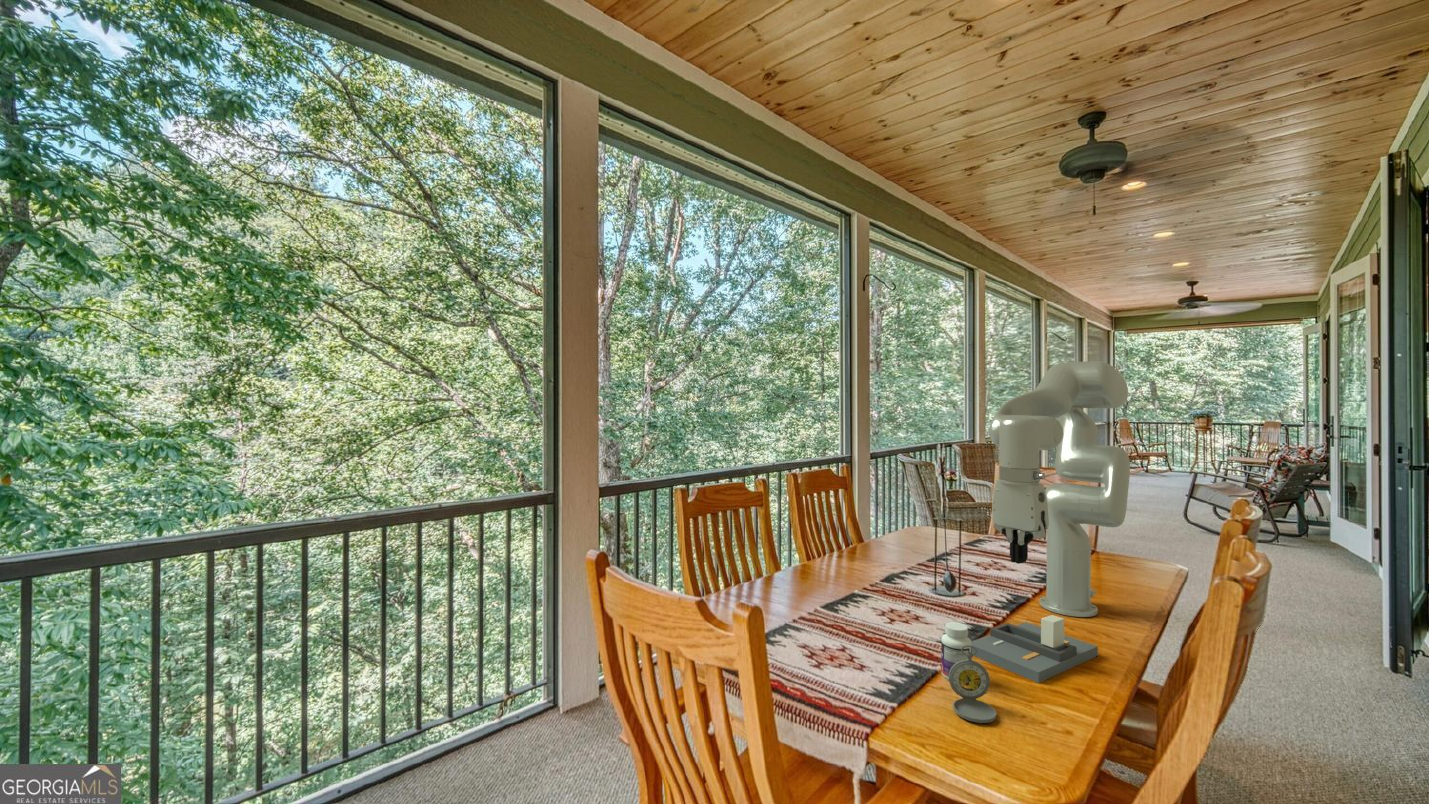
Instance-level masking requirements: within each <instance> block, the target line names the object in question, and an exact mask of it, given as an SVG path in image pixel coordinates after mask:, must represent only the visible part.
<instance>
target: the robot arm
mask: <svg viewBox="0 0 1429 804" xmlns="http://www.w3.org/2000/svg"><path fill="white" fill-rule="evenodd" d="M1128 394H1129V390H1128V385H1127V382H1126V379H1125V378H1124V377H1123V375H1122V374H1121V373H1120V372H1119V371H1118V370H1117V369H1116V368H1115V367H1114V366H1113V365H1111V364H1109V363H1108V362H1105V361H1100V360H1097V361H1096V360H1095V361H1090V360H1089V361H1070V362H1069V361H1067V362H1059V363H1056V364H1054V365H1052V366H1050V368H1049V369H1048V370H1047V371H1046V372H1045V374H1044V376H1043V377H1042V379H1041V380H1040V382H1039V384H1038V385H1036V387H1035V389H1033V390H1030V391H1027V392H1025V393H1023V394H1021V395H1018V396H1016V397H1014V398H1011V399H1009V400H1008V401H1006V402H1005V403H1003V404H1002V405H1001V406H1000V407H999V409H998V410H997V412H995V415H994V416H993V418H992V419H991V422H990V424H989V429H988V431H989V432H988V433H989V438H990V440H991V442H992V444H994V445H995V446H996V447H999V448H998V455H999V459H998V466H999V467H998V479H997V480H996V482H995V486H994V490H993V498H992V505H991V506H992V508H991V509H992V510H991V514H992V515H991V516H992V522H993V529H994V530H995V531H998V532H1000V533H1002V534H1003V535H1004V537H1005V538H1006V541H1007V542H1008V543H1009V556H1010V562H1011V563H1015V564H1023V563H1026V562H1027V560H1028V556H1029V555H1028V554H1029V547H1028V545H1029V544H1031V542H1032V541H1034V540H1042V539H1046V584H1045V585H1046V587H1045V589H1046V590H1045V591H1046V595H1045V596H1042V597H1040V598H1039V606H1041V607H1042V608H1043V609H1045V610H1046V611H1050V612H1052V613H1056V614H1060V615H1063V616H1067V617H1074V618H1075V617H1076V618H1077V617H1078V618H1091V617H1094V616H1097V615H1098V613H1099V610H1098V607H1097V606H1096V605H1094V604H1093V603H1091V597H1094V596H1096V594H1097V593H1096V592H1097V591H1096V590H1095V589H1093V588H1091V579H1092V578H1091V569H1092V568H1091V567H1092V565H1091V563H1092V562H1091V561H1092V555H1091V554H1092V551H1091V550H1092V548H1091V547H1092V545H1091V540H1090V537H1089V535H1088V534H1087V532H1086V530H1085V529H1084V528H1083V527H1082V525H1091V526H1097V527H1104V528H1117V527H1120V526H1122V524H1123V523H1124V521H1125V518H1126V514H1127V507H1128V497H1129V496H1128V495H1129V488H1130V486H1129V485H1130V476H1131V475H1130V474H1131V463H1130V457H1129V455H1128V453H1127V451H1126V450H1125V449H1123V448H1122V447H1120V446H1116V445H1115V446H1114V445H1106V444H1105V445H1104V444H1097V441H1098V433H1099V428H1098V425H1097V424H1096V423H1095V421H1094V420H1093V419H1092V418H1091V416H1090V415H1089V414H1088V413H1086V412H1085V411H1084V410H1083V409H1118V408H1120V407H1122V406H1124V404H1125V403H1126V401H1127V399H1128ZM1055 448H1056V452H1055V453H1056V454H1055V461H1054V470H1055V472H1056V474H1057V476H1058V477H1060V478H1062V479H1065V480H1069V481H1078V482H1085V483H1086V482H1087V483H1095V484H1102V485H1104V486H1097V485H1096V486H1095V485H1094V486H1093V485H1086V484H1078V483H1067V482H1066V483H1064V482H1063V483H1061V482H1060V483H1052V484H1050V485H1048V486H1047V487H1046V488H1045V485H1044V483H1040V482H1041V480H1045V479H1046V473H1045V472H1041V468H1040V451H1051V450H1054V449H1055Z"/></svg>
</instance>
